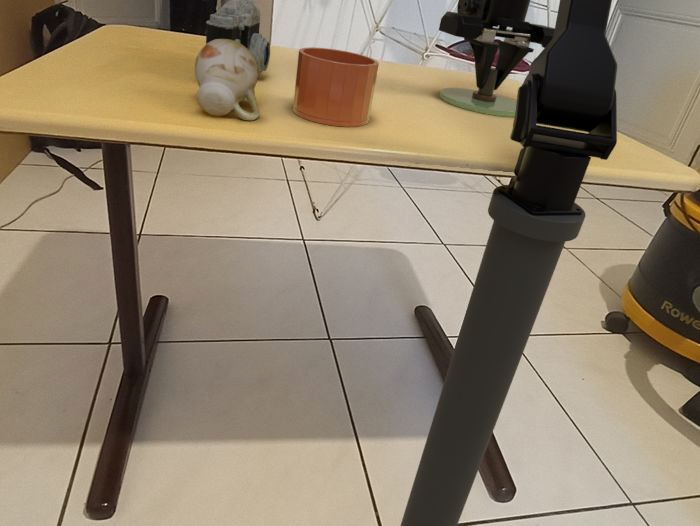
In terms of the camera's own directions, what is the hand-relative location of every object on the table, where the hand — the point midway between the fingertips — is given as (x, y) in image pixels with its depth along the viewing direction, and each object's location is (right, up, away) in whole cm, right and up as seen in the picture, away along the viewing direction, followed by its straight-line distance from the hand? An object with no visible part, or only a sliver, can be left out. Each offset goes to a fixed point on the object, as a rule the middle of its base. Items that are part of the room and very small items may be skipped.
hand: (486, 88), depth 89 cm
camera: (-37, -1, -9) cm, 38 cm away
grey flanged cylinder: (0, -1, +1) cm, 2 cm away
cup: (-24, -9, -20) cm, 32 cm away
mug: (-36, -10, -24) cm, 45 cm away
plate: (0, -2, +1) cm, 2 cm away
